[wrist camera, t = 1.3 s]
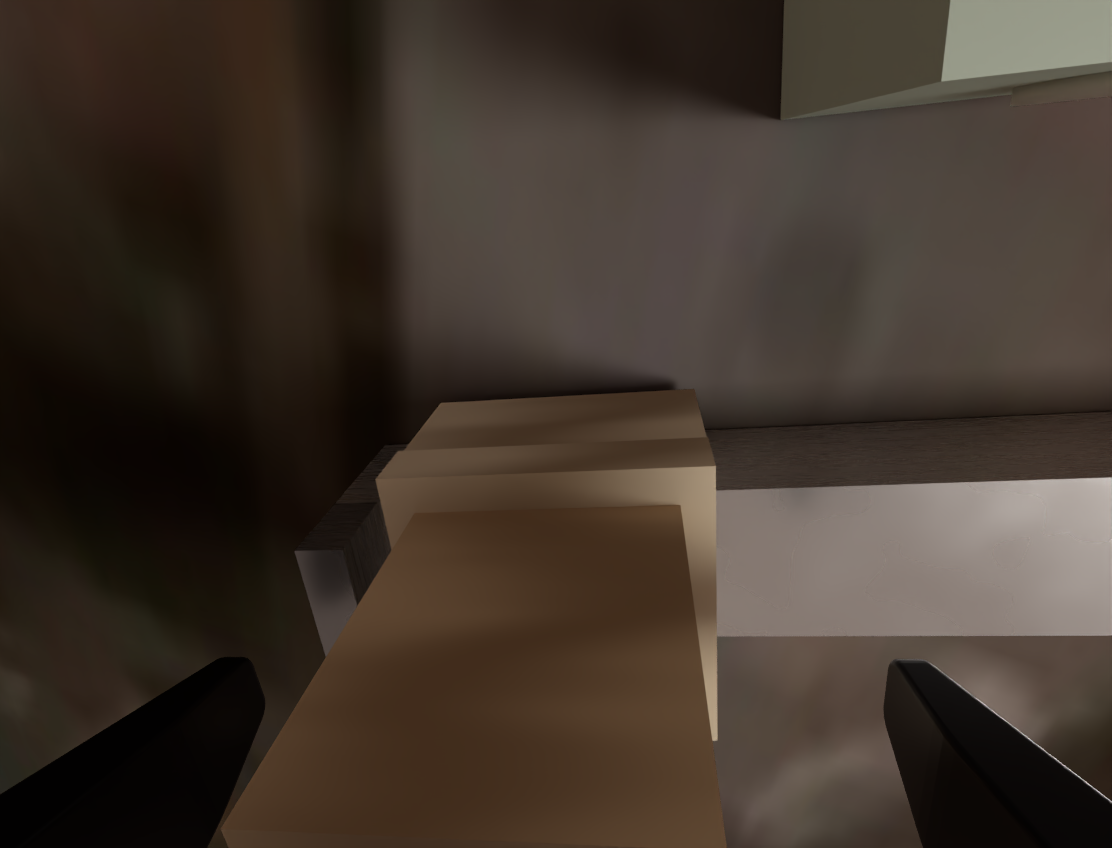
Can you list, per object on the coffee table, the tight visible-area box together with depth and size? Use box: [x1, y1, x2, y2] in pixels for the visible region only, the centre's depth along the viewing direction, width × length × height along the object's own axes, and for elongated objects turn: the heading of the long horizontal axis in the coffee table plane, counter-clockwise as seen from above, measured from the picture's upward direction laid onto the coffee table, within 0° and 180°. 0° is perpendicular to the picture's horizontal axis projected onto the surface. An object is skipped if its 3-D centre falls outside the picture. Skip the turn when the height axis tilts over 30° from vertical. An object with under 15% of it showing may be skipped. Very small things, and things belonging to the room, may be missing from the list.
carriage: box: [221, 389, 727, 848], centre depth 10 cm, size 5×5×8 cm
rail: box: [295, 412, 1112, 656], centre depth 11 cm, size 21×3×4 cm, turn 96°
